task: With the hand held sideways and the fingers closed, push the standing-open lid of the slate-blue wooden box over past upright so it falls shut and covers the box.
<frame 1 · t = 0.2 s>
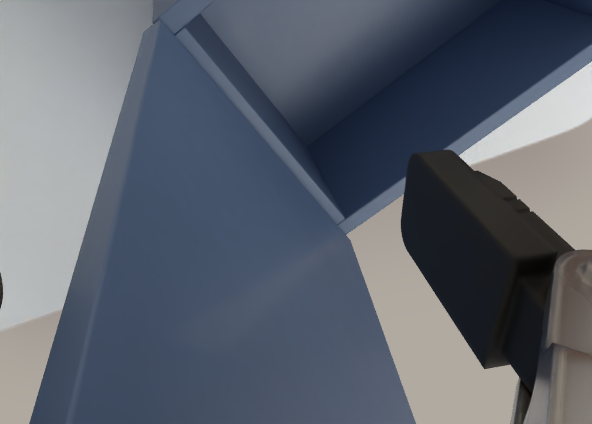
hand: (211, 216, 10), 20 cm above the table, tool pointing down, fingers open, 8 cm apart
box lid: (288, 293, 15), point 17 cm above the table, hinge at 95.0°
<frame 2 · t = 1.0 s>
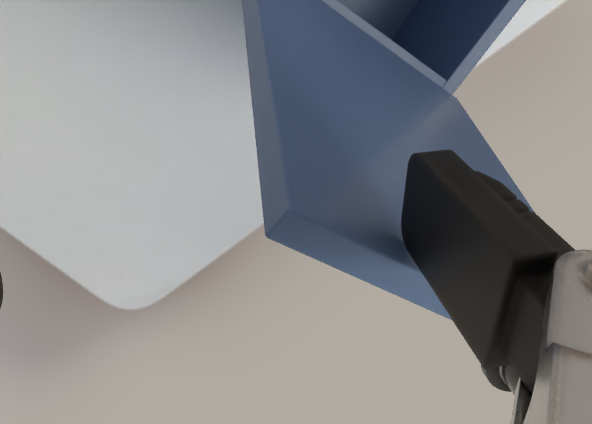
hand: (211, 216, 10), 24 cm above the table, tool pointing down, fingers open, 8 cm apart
box lid: (406, 135, 19), point 17 cm above the table, hinge at 100.7°, touching gripper
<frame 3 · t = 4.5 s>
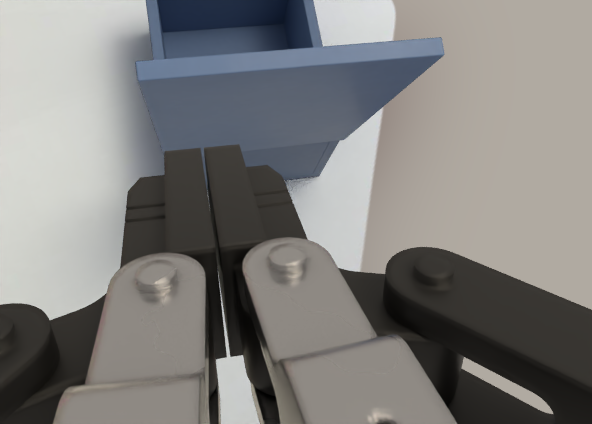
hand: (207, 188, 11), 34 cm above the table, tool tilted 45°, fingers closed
box lid: (271, 112, 30), point 17 cm above the table, hinge at 100.1°
blue box: (235, 102, 48), on the table
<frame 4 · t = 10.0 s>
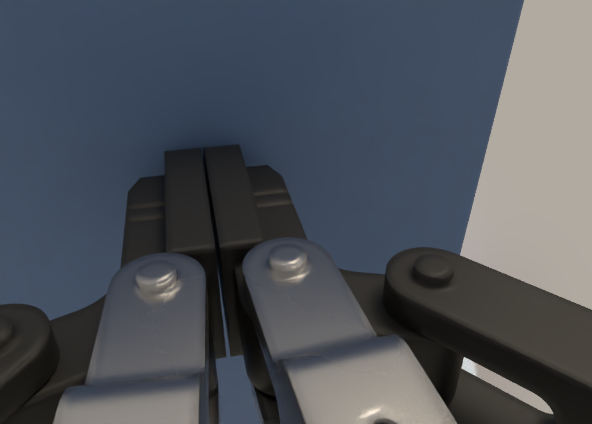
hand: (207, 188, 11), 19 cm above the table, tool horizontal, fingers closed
box lid: (212, 229, 12), point 17 cm above the table, hinge at 94.2°, touching gripper
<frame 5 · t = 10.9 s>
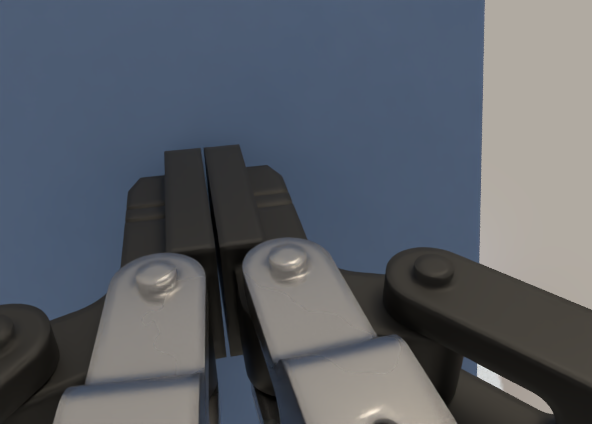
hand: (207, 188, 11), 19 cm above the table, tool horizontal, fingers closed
box lid: (216, 252, 12), point 17 cm above the table, hinge at 72.1°
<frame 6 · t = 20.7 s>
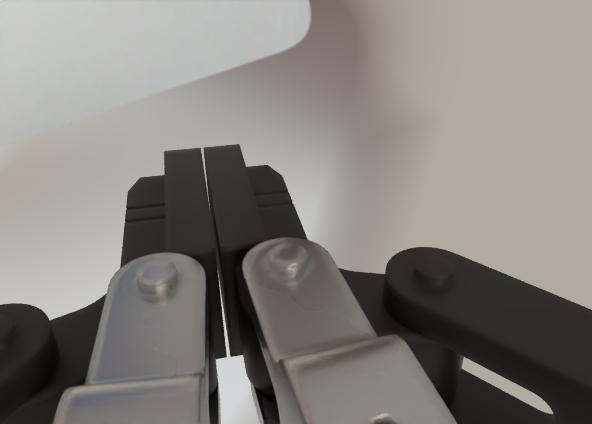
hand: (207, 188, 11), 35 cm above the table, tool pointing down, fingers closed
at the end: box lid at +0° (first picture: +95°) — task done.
